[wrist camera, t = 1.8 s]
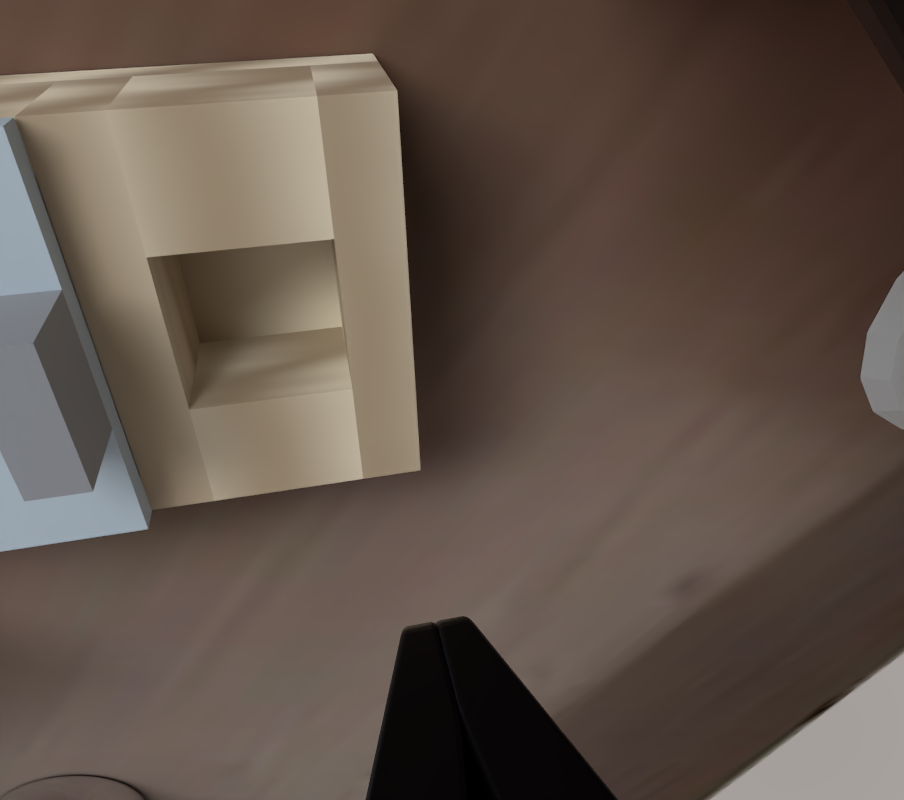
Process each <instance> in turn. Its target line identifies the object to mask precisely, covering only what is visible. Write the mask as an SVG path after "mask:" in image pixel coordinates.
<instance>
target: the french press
mask: <svg viewBox="0 0 904 800" xmlns="http://www.w3.org/2000/svg"><path fill="white" fill-rule="evenodd" d="M860 379H861V382H862V384H863V387H864V390H865V392H866V395H867V397H868V400H869V403H870V405H871V408H872V411H873V412H874V413H876V414H877V415H879V416H881V417H882V418H884V419H886V420H887V421H889V422H890V423H892V424H894V425H895V426H897V427H899V428H900V429H902V430H904V271H903V272H902V273H901V275H900V276H899V277H898V278H897V279H896V280H895V282H894V284H893V286H892V288H891V290H890V291H889V293H888V295H887V297H886V299H885V301H884V302H883V304H882V306H881V308H880V310H879V312H878V313H877V315H876V317H875V319H874V321H873V323H872V325H871V326H870V328H869V330H868V332H867V338H866V344H865V351H864V357H863V363H862V370H861V376H860Z"/></svg>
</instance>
